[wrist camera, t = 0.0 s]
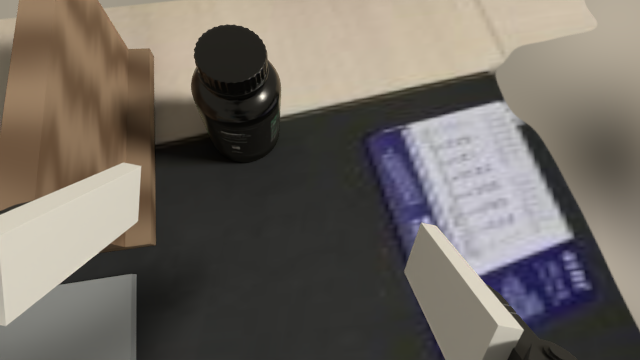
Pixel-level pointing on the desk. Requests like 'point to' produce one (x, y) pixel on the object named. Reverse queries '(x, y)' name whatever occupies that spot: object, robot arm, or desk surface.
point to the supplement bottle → (237, 92)
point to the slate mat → (76, 323)
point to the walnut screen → (76, 108)
